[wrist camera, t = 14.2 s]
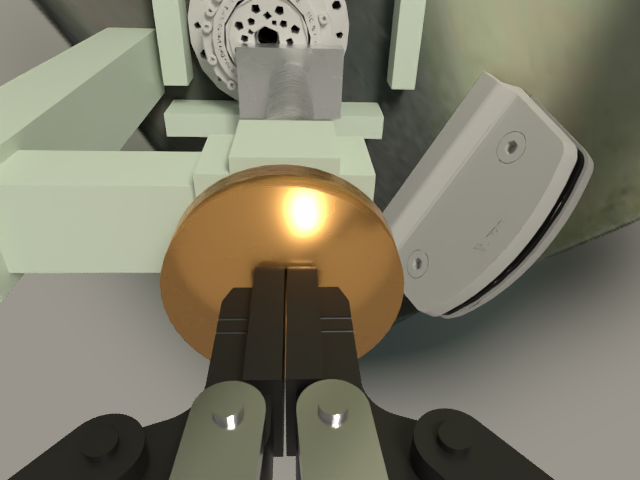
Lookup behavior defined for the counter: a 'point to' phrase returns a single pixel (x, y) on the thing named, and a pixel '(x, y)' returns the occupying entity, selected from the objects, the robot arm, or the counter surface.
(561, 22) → the counter surface
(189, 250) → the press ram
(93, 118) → the frame
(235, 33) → the mechanical component
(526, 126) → the grey curved housing
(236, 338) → the robot arm
